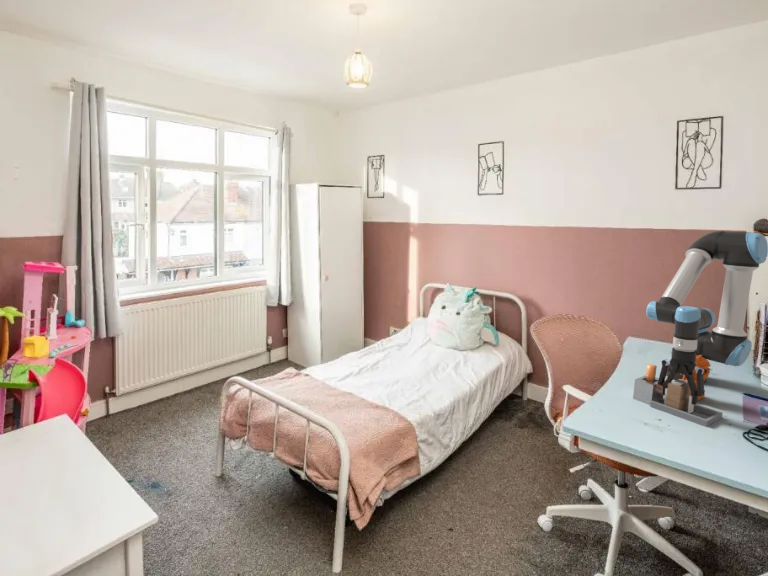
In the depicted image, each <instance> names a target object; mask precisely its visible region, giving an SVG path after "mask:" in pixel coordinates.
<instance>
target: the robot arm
mask: <svg viewBox="0 0 768 576" xmlns="http://www.w3.org/2000/svg"><path fill="white" fill-rule="evenodd" d="M684 256H685V259H684V260H683V261H682V262H681V265H680V267H679V268H678V270H677V271H676V273H675V274H674V276H673V278H672V280H671V281H670V283H669V284H668V285H667V287H666V289H665V291H664V292H663V294H662V296H661V297H660V299H659V300H658V301H656V300H655V301H654V300H652V301H650V302H649V303H648V304H647V305H646V311H645V314H646V317H647V318H648V319H649V320H652V321H656V322H661V323H667V324H670V325H674V328H673V336H672V337H673V339H672V349H671V359H667V358H665V359H663V360H661V369H660V373H659V376H658V378H659V380H658V384H659V385H661V386H663V392H662V394H663V395H664V396H663V404H664V405H665V404H666V396H667V389H668V383H671V382H673V381H676V380H678V379H683V375H685V377H686V378H687V381H688V384H689V387H690V390H691V393H692V395H690V396H689V404H688V409H687V413H690V414H692V413H693V412H694V411H695V410H694V405H695V404H698V401H699V400H698V396H702V395H704V394H705V392H704V390H705V382H706V381H707V378H706V379H705V380H704V378H703V374H704V371H705V369H704V368H699V367H696V364H695V361H696V355H697V356H698V355H702V356H701V357H703V358H705V359H706V360H708V361H712V362H715V363H719V364H724V365H726V366H733V367H740V366H742V365H743V364H745V362H746V361H747V359H748V358H749V356H750V354H751V350H752V341H751V340H750V339H748V333H747V332H745V330H744V327H745V321H746V315H747V308H748V303H749V297H750V291H751V285H752V279H753V273H754V271H756V270H758V269H759V267H760V264H763V263H765V262H766V260H767V257H768V241H767V238H766V236H765V235H764V234H762V233H759V232H752V231H729V230H726V231H725V230H714V231H711V232H708V233H706V234H704V235H702V236H701V237H699V238H698V239H696V240H695V241H694V242H692V244H691V245H690V246H689V247H688V248H687V250H686V251H685V254H684ZM713 260H721V261H722V266H723V268H725V275H724V283H723V289H722V296H721V300H720V306H719V307H720V308H719V314H718V320H717V319H716V318H717V316H716V314H715V312H713V310H712V309H709V308H705V307H701V308H699V307H695V306H690V305H689V306H688V305H684V306H683V305H682V304H683V303H684V301H685V299H686V297H687V296H688V294H689V293H690V291H691V289H692V288H693V287H694V285H695V283H696V281H697V280H698V278H699V277H700V275H701V273H702V271H703V270H704V269H705V267H706V266H708V265H710V264H711V263H712V261H713ZM716 320H717V326H716V327H713V326H714V324H715V323H716ZM711 327H713V328H712V330H711V331H709V328H711ZM694 369H695V370H696V373H697V387H696V384H695V381H694V378H693V372H692V371H693V370H694ZM680 373H681V374H683V375H681V374H680ZM666 377H667V378H666ZM664 381H665V382H664Z"/></svg>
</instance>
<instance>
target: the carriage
mask: <svg viewBox="0 0 768 576" xmlns="http://www.w3.org/2000/svg"><path fill="white" fill-rule="evenodd" d="M690 393H691V390H690V387H689V384H688V381H685V380H682V379H678V380H672V382H671V383H668V389H667V396H666V404H665V405H667V406H669V407H672V408H675V409H678V410H681V411H684V412H685V411H687V410H688V404H689V396H690Z"/></svg>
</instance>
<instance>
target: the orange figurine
mask: <svg viewBox="0 0 768 576" xmlns="http://www.w3.org/2000/svg"><path fill="white" fill-rule="evenodd" d="M701 356H702V355H698V356H697V355H696V361H695V364H696V367H699V368H704V369H705V371H704V374H703V378H704V380H705V379H706V380H707V378H708V377H709V375H710V373H711V370H712V368H710V366H711V363H710V361H709V360H707V359H705V358H703V357H701ZM692 372H693V378H694V381H695V384H696V387H697V373H696V370H695V369H694V370H693V371H692ZM680 374H681V373H680ZM681 375H683V374H681ZM682 380H685V381H687V378H686V377H685V375H683V379H682ZM705 392H706V391H705V389H704V395H702V396H698V400H697V401H699V400H702V399H705V397H706V396H705V395H706V394H705ZM690 395H692V393H690ZM701 398H702V399H701Z"/></svg>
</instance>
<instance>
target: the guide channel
mask: <svg viewBox="0 0 768 576" xmlns="http://www.w3.org/2000/svg"><path fill="white" fill-rule="evenodd" d="M649 407H651V408H653V409H656V410H659V411H661V412H664V413H667V414H669V415H673V416H674V417H675V416H676V417H679V418H681V419H684V420H687V421H689V422H692V423H695V424H697V425H700V426H704V427H706V428H707V427H708V426H710V425H711V424H714V423H715V422H718V421H719V420H721V419H722V418H723V412H722V411H719V410H715V409H712V408H709V407H707V406H704V405H700V404H698V403H697V404H695V405H694V410H693V411H695V412H699V413H701V414H705V415H707V416H708V417H707V418H703V417H701V416H698V415H695V414H692V413H688V411H685V410H684V411H681V410H678V409H675V408H672V407H669V406H667V405H664V403H660V402H655V401H651V403H650V405H649Z"/></svg>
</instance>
